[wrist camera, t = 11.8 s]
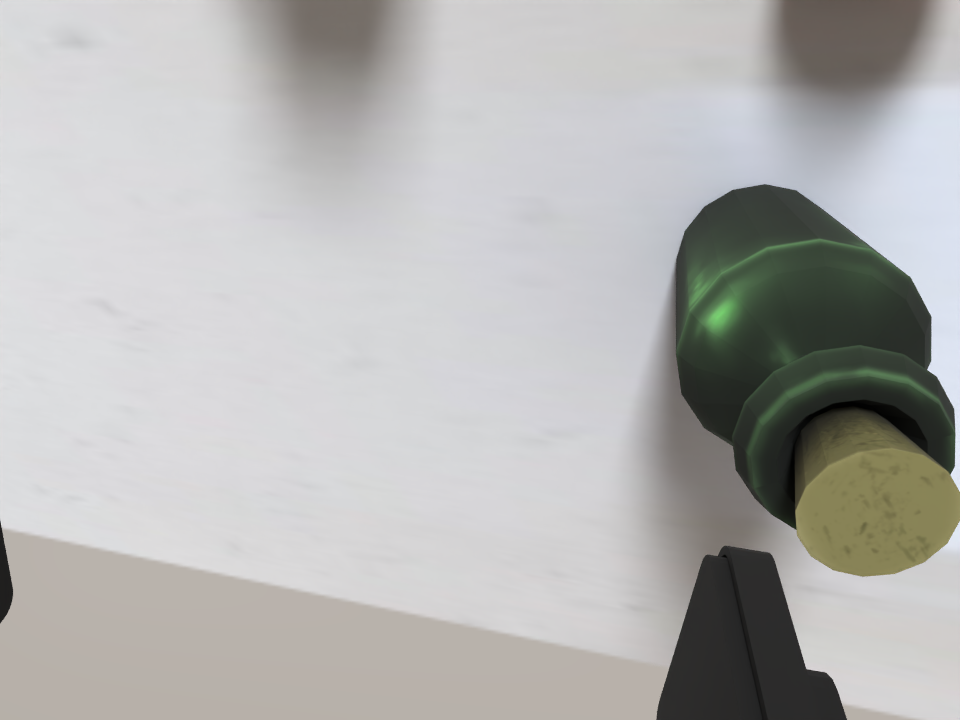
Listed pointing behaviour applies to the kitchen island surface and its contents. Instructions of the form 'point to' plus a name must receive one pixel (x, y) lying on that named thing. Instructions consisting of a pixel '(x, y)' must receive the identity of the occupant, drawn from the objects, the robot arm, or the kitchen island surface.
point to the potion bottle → (817, 379)
